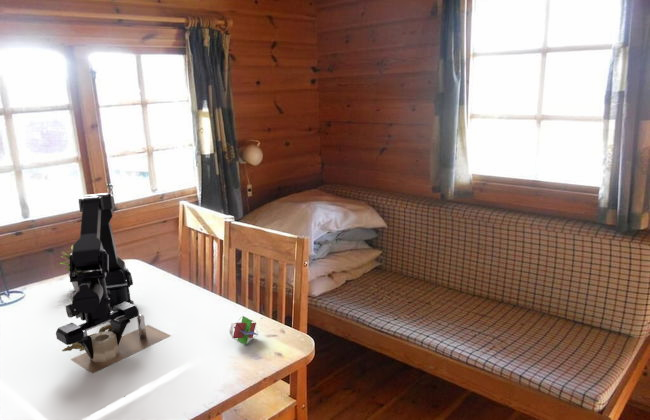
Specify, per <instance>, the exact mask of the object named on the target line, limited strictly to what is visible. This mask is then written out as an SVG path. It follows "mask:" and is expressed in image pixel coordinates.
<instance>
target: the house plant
mask: <svg viewBox="0 0 650 420" xmlns="http://www.w3.org/2000/svg"><path fill="white" fill-rule="evenodd" d="M73 245H74V243H72V244H71V248H70V250H71V251H68V250H67V251H60V252H61V254H62V255H60V257H61V258H64V259H65V260H66V261H68V262H65V261H62V262H60V263H59V262H58V265H64V266H67V267H66V271H67V272H66V273H68V272H69V273H68V276H69V278H70V254H71V253H72V251H73ZM66 252H68V253H69V254H68V253H66ZM77 273H85V271H82V272H77V271H76V268H75V274H77ZM71 283H72V286H73V290H74V291H75V292H76V290H77V288H78V282H77V281H76V282H71Z"/></svg>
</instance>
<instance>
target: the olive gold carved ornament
mask: <svg viewBox="0 0 650 420" xmlns="http://www.w3.org/2000/svg"><path fill="white" fill-rule="evenodd" d="M106 331H107V332H108V331H111V332H112V327H111V324H110V323H109V324H107V325H105V326H101V328H99V330H98V332H97V333H99V332H106ZM97 333H93V334H89V335H88V334H87V335H88V336H92V335H95V334H97ZM73 349H75V350H79V351H80V352H83V351H85V350H84V348H83V347H82V345H81V344H79V343H77V342H76V343H73V344H71V345H66V347H64V348H63V349H62V350H61V352H66V351H72V350H73Z"/></svg>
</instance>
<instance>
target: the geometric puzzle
mask: <svg viewBox="0 0 650 420" xmlns="http://www.w3.org/2000/svg"><path fill="white" fill-rule="evenodd" d="M240 320H241V322H239V321H240ZM256 328H257V322H255V321H253V320H252V319H249V318H248V317H246V316H244V315H242V316H241V317H240V318H239V319H238V320H237V322H233V323H231V324H230V328H229V334H230V336H231V338H232V339H233V340H235V341H237V342H239V343H241V344H243V345H244V346H245V347H246V346H248V345H249V343H251V342H252V339H254V335H255V337H257V336H259V333H258V329H256ZM255 330H256V332H255Z"/></svg>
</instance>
